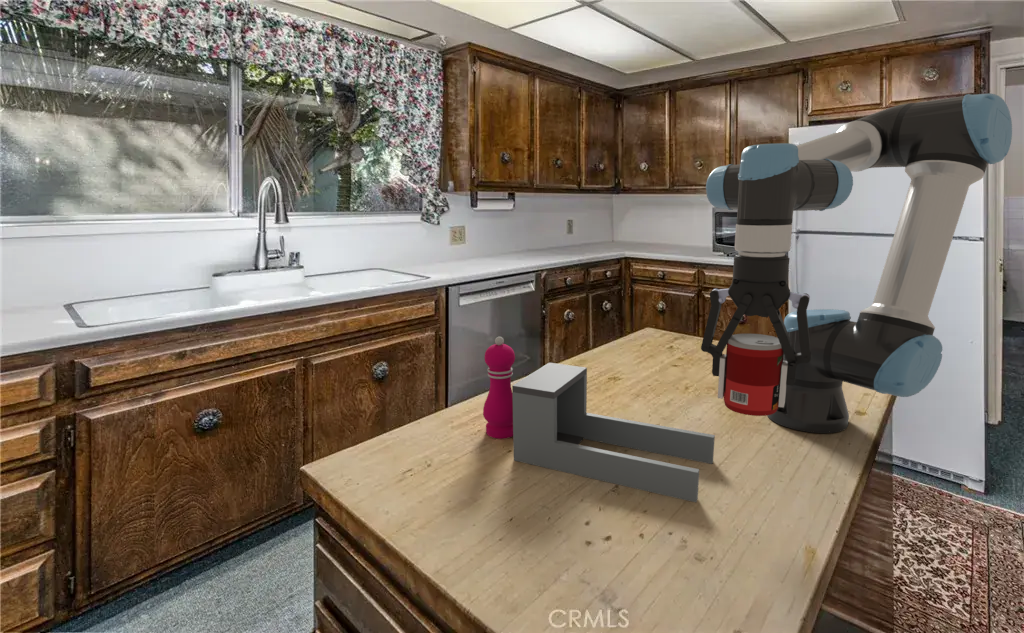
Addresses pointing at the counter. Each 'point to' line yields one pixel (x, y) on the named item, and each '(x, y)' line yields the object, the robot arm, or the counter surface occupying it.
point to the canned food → (753, 374)
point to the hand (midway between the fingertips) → (750, 399)
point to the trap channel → (599, 437)
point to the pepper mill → (499, 390)
